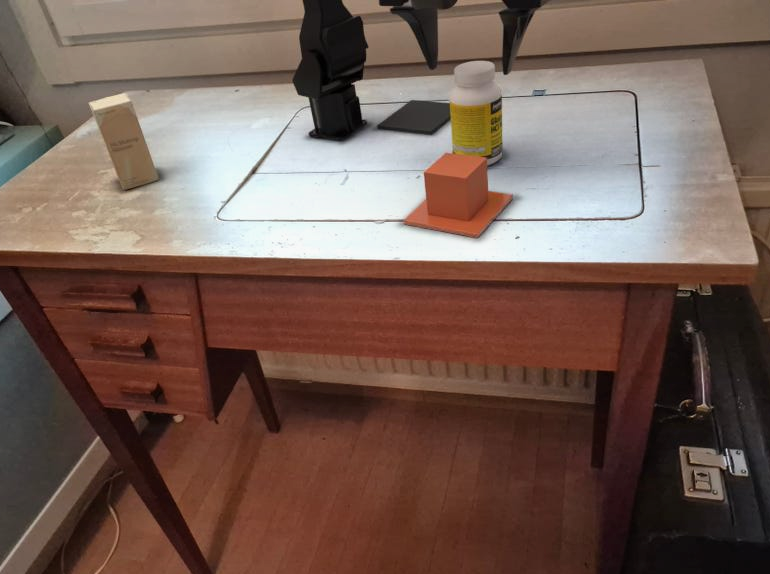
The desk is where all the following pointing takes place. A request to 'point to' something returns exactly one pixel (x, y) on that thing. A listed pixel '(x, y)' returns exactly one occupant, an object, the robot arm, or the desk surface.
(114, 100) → the box
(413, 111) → the charcoal mat
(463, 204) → the terracotta block
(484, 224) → the terracotta mat
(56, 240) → the desk surface
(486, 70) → the pill bottle
